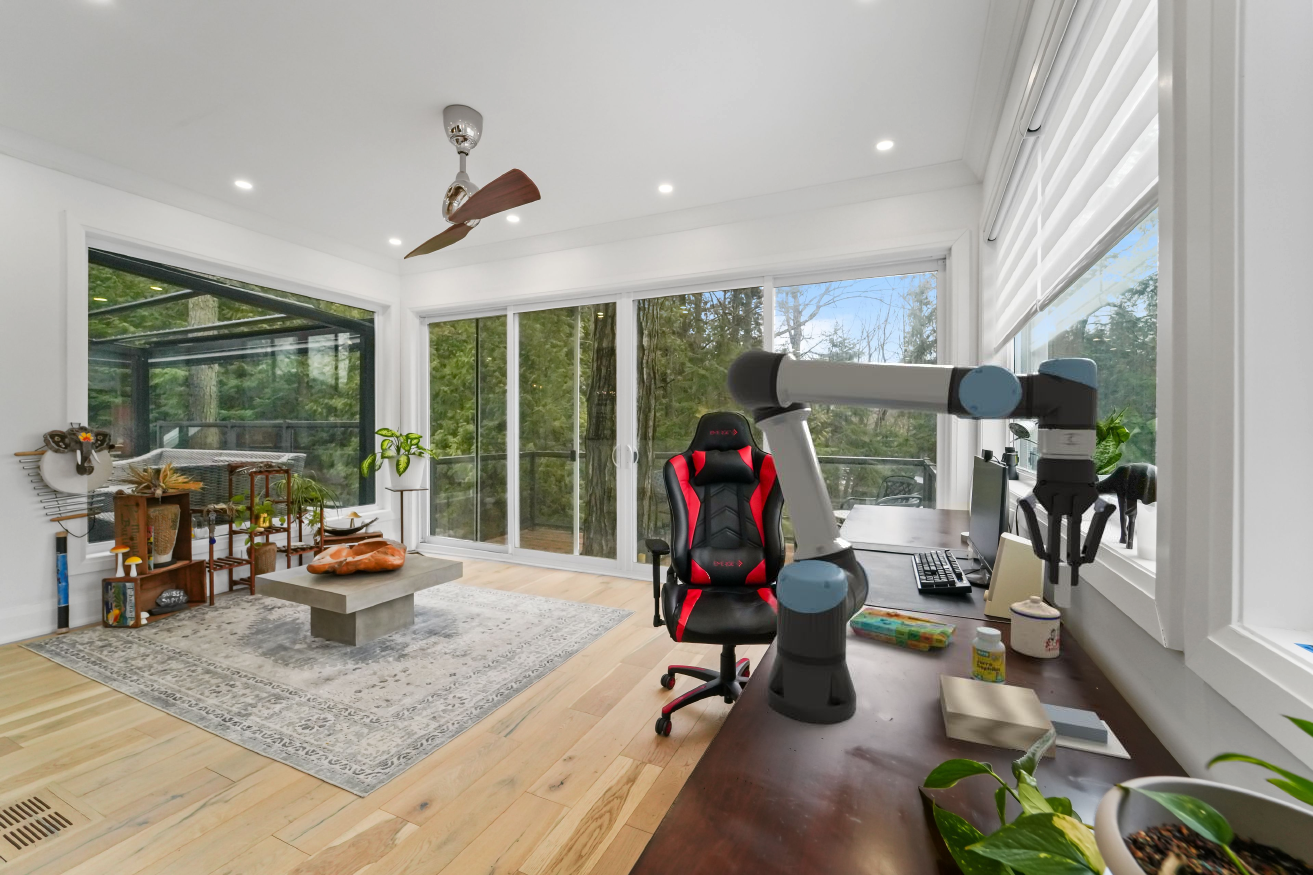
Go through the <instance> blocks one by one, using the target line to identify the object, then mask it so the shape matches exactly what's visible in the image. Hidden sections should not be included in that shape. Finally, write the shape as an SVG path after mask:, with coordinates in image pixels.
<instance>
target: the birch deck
mask: <svg viewBox="0 0 1313 875" xmlns="http://www.w3.org/2000/svg"><path fill="white" fill-rule="evenodd" d="M939 699H940V705H941V711H942V716H943V722H944V727H945V733H946V738H950V739H951V738H953V739H956V740H957V739H958V740H963V741H967V742H971V743H978V744H983V745H987V746H993V747H996V748H997V747H998V748H1003V749H1008V750H1012V749H1021V750H1025V752H1024V753H1027V751H1028V750H1029V749H1030V748H1031V747H1032V746H1033V745H1034V744H1035V743H1036V742H1037V741H1038V740H1039V739H1041V738H1042V737H1043V735H1045V734H1046V733H1047V732H1048V731H1049V730H1051V729H1054V730H1055V728H1054V727H1053V725H1052V723H1051V721H1050V719H1049V717H1048V716H1047V714H1046V712H1045V710H1044V708H1043V706H1042V705H1041V703H1042V702H1041V701H1040V699H1039V697H1038V695H1037V694H1036V692H1035V690H1034V689H1032V688H1027V687H1020V686H1014V685H1008V684H1004V685H1003V684H996V683H990V682H984V681H977V680H975V679H970V678H964V677H958V676H957V677H956V676H951V675H945V674H939ZM1055 732H1056V730H1055ZM1056 746H1057V745H1056V739H1055V741H1054V742H1053V744H1052V745H1051V746H1050V747H1049V748H1048V749H1047V750H1046V752H1045V753H1044V755H1043V757H1047V758H1052V759H1053V758H1054V759H1056Z"/></svg>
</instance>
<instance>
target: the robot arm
mask: <svg viewBox="0 0 1313 875" xmlns="http://www.w3.org/2000/svg"><path fill="white" fill-rule="evenodd" d="M725 381H726V389H727V392H728V394H729V396H730V397H731V399H732V400H733V401H734V402H735V403H736V404H738V405H739V406H741V407H742V408H744V409H747V410H750V412H751V415H752V418H753V423H754V426H755V428H758V430H761V431H762V432H764V434H765V436H766V440H767V444H768V447H769V450H770V454H771V457H772V462H773V465H774V468H775V471H776V475H777V479H778V482H779V485H780V490H781V493H782V497H783V500H784V504H785V507H786V511H787V514H788V517H789V521H790V524H791V528H792V531H793V535H794V539H795V542H796V545H797V547H796V550H795V551H794V553H793V555H792V560H793V562H790V563H788V564H786V565H785V566H783V567H782V568H781V569H780V570H779V572H778V576H777V584H776V589H775V591H776V599H777V600H776V654H775V657H774V661H773V663H772V666H771V669H770V672H769V675H768V678H767V681H766V687H765V688H766V689H765V690H766V694H765V696H766V697H765V698H766V701H767V702H768V705H770V706H771V707H772V708H773V709H774V710H776V711H777V712H779V713H780V714H782V715H784V716H786V717H789V718H792V719H795V720H798V721H803V722H807V723H815V724H830V723H831V724H832V723H839V722H842V721H845V720H848V719H849V718H851V717H852V716H854V714H855V713H856V711H857V693H856V688H855V686H854V682H853V679H852V677H851V673H850V671H849V670H850V669H849V666H848V664H847V625H848V622H850V620H851V619H853V618H854V617H855V616H856V614H858V612H860V611H861V609H862V608H863V607H864V605H865V603H866V602H867V600H868V596H869V592H870V580H869V575H868V573H867V570H866V569H865V567H864V566H863V565H862V562H860V561H859V560H857V557H856V555H855V552H854V551H855V550H854V547H853V544H852V542H849V541H848V540H846V539H844V538H843V537H842V536H841V532H840V529H839V526H838V525H839V524H838V522H837V519H836V516H835V511H834V509H833V506H832V502H831V499H830V495H829V491H828V489H827V486H826V482H825V478H824V475H823V472H822V468H821V465H820V462H819V458H818V455H817V452H816V447H815V445H814V442H813V438H812V436H811V432H810V428H809V425H808V422H807V421H808V418H809V416H810V414H811V412H812V408H811V405H823V406H836V407H837V406H838V407H848V408H861V409H862V408H863V409H875V410H888V411H900V412H901V411H902V412H914V413H924V414H927V413H928V414H938V415H949V416H950V415H952V416H956V418H958V419H960V420H972V421H980V420H1037V423H1038V424H1037V440H1036V441H1037V446H1036V453H1037V454H1038V455H1041V456H1040V457H1038V459H1036V479H1035V480H1036V483H1035V485H1034V486H1033V489H1032V493H1030V494H1028V495H1025V496H1024V497H1018V498H1017V499H1016V504H1017V505H1018V507H1019V508H1020V509H1021V511H1022V512H1023V515H1024V519H1025V523H1026V527H1027V531H1028V534H1029V539H1030V542H1031V546H1032V550H1033V553H1034V555H1035V556H1036V557H1037V558H1038V559H1039V560H1043V561H1046V562H1047V570H1046V572H1047V577H1046V578H1047V581H1048V583H1049V584H1051V585H1054V594H1053V596H1054V598H1053V603H1055V605H1057V607H1058V608H1065V609H1070V608H1071V596H1072V595H1071V591H1072V590H1071V588H1072V587H1078V585H1079V581H1080V580H1079V577H1080V573H1079V572H1080V567H1081V566H1082V565H1086V564H1093V563H1094V562H1095V559H1096V556H1097V554H1098V550H1099V547H1100V544H1101V541H1102V538H1103V535H1104V531H1105V530H1106V526H1107V523H1108V520H1109V518H1110V517H1111V516H1112V515H1113V514H1114V513H1115V512H1116V510H1117V509H1118V508H1117V505H1116V504H1114V503H1111V502H1108V501H1106V500H1104V498H1102V497H1100V494H1099V491H1098V490H1097V488H1096V469H1097V468H1096V464H1097V463H1096V462H1097V461H1095V459H1093V458H1092V457H1093V456H1095V455H1096V454H1097V452H1096V451H1097V446H1096V445H1097V424H1098V422H1097V421H1098V420H1097V419H1098V418H1097V417H1098V400H1099V399H1098V398H1099V397H1098V396H1099V385H1098V365H1097V364H1096V362H1095V361H1094V360H1092V359H1090V358H1084V357H1083V358H1082V357H1066V358H1065V357H1064V358H1052V359H1046V360H1043V361H1041V362H1040V363H1039V365H1038V369H1037V372H1031V373H1030V372H1029V373H1014V371H1012V370H1011V369H1009V368H1007V367H1004V366H1003V365H999V364H983V365H980V366H969V365H968V366H967V365H962V366H961V365H958V366H956V365H949V364H948V365H945V364H944V365H943V364H941V365H940V364H922V363H921V364H919V363H917V364H916V363H891V362H888V363H887V362H866V361H864V362H863V361H841V360H840V361H838V360H815V359H813V360H812V359H797V358H796V357H795V356H794V354H792V353H780V352H771V351H767V350H763V349H751V350H747V351H744V352H743V353H741V354H739V355H738V356H737V357H736V358H734V360H733V361H732V362H731V363H730V365H729V367H728V370H727V373H726V380H725ZM1036 502H1038V503H1039V504H1040V505H1041V507H1042V508H1043V510H1044V511H1045V512H1047V514H1046V515H1047V541H1046V542H1047V543H1046V546H1047V547H1046V548H1045V545H1044V540H1043V537H1042V534H1041V529H1040V525H1039V520H1038V517H1037V514H1036V512H1035V509H1036V507H1037V504H1036ZM1093 505H1094V506H1093ZM1092 506H1093V510H1094V512H1093V515H1092V518H1091V520H1090V525H1089V527H1088V530H1087V533H1086V536H1085V538H1084V542H1083V545H1082V548H1081V539H1082V538H1081V535H1082V534H1081V533H1082V532H1081V530H1082V522H1083V515H1084V514H1085V513H1086V512H1087V511H1088V509H1090V508H1091V507H1092ZM1063 516H1065V518H1066V554H1065V555H1066V556H1065V557H1066V558H1065V559H1066V562H1061V542H1062V541H1061V538H1062V536H1061V533H1062V522H1063Z"/></svg>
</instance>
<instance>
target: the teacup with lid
mask: <svg viewBox="0 0 1313 875" xmlns="http://www.w3.org/2000/svg"><path fill="white" fill-rule="evenodd" d="M1009 610H1010V611H1011V612H1010V613H1011V616H1010V621H1011V622H1010V647H1011V648H1012V649H1013V650H1014V651H1016V652H1017V653H1021V654H1023V655H1025V656H1030V657H1034V658H1040V659H1053V658H1057V657H1058V656H1059V655H1060V619H1061V618H1062V615H1061V612H1060V611H1059V610H1058V609H1057V608H1054V607H1052V606H1049V605H1048V604H1046V603H1045V602H1043V601H1042V599H1041V597H1039V596H1035V595H1032V596H1030V597H1029V599H1027V600H1024V601H1021V602H1020V601H1019V602H1014V603H1012V604H1011V605H1010V607H1009Z"/></svg>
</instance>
